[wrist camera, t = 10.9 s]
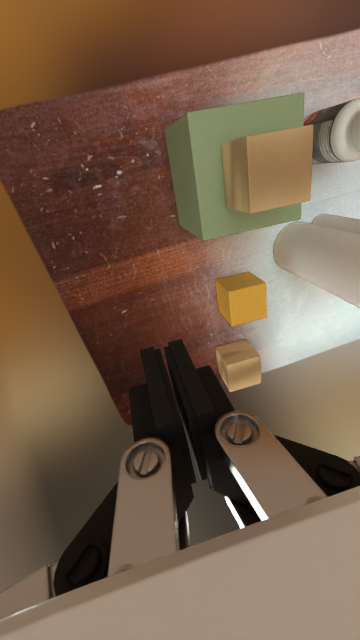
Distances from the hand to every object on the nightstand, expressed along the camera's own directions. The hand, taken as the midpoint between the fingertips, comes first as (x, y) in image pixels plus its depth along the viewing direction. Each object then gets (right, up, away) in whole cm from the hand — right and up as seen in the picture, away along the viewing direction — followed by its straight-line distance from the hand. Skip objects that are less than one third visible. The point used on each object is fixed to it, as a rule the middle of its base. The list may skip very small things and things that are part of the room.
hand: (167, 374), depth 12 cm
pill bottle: (+17, +24, +23) cm, 37 cm away
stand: (+4, +19, +22) cm, 30 cm away
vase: (+19, +13, +29) cm, 37 cm away
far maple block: (+9, -4, +35) cm, 36 cm away
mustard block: (+8, +6, +30) cm, 32 cm away
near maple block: (+7, +15, +14) cm, 21 cm away
